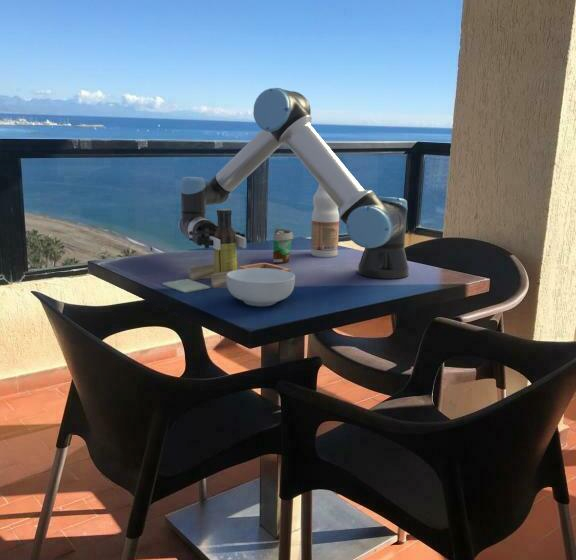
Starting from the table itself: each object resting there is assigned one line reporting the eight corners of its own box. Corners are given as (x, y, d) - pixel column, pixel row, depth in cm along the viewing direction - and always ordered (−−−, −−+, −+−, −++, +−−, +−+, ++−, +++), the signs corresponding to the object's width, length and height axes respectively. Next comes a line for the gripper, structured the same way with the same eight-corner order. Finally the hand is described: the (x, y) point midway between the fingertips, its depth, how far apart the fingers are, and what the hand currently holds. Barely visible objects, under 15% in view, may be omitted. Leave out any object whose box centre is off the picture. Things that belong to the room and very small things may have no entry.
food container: (292, 265, 189) (293, 234, 187) (273, 265, 189) (273, 234, 187) (292, 258, 201) (293, 228, 199) (274, 257, 201) (275, 228, 199)
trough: (260, 279, 170) (260, 267, 169) (214, 287, 160) (214, 275, 159) (235, 272, 179) (235, 260, 178) (189, 279, 168) (189, 267, 167)
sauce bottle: (240, 278, 171) (241, 209, 166) (229, 283, 165) (229, 211, 160) (221, 276, 173) (221, 207, 169) (209, 280, 168) (209, 209, 163)
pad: (210, 288, 159) (210, 286, 159) (184, 292, 154) (184, 291, 154) (187, 280, 167) (187, 278, 167) (162, 284, 162) (162, 283, 162)
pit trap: (290, 274, 178) (290, 269, 177) (264, 278, 171) (264, 273, 171) (264, 267, 186) (264, 262, 186) (239, 271, 180) (239, 266, 179)
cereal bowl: (308, 304, 147) (309, 276, 145) (255, 316, 136) (255, 285, 134) (264, 290, 159) (265, 264, 157) (212, 300, 148) (212, 272, 147)
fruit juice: (305, 255, 206) (308, 173, 200) (318, 251, 214) (321, 172, 208) (329, 258, 202) (333, 174, 195) (342, 254, 209) (346, 173, 203)
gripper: (233, 241, 187) (264, 255, 168) (172, 245, 179) (197, 260, 159) (234, 218, 186) (265, 228, 166) (171, 220, 177) (197, 232, 157)
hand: (232, 244), depth 162 cm, fingers open, 7 cm apart
